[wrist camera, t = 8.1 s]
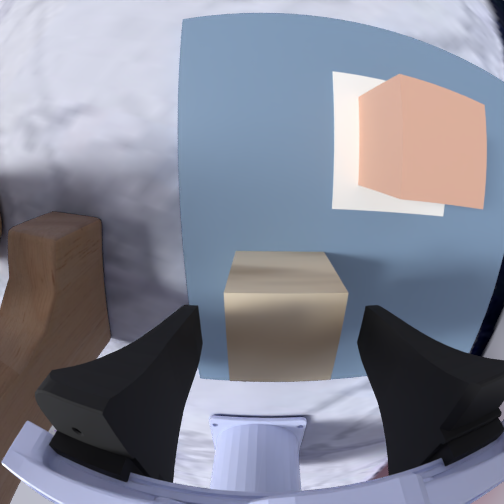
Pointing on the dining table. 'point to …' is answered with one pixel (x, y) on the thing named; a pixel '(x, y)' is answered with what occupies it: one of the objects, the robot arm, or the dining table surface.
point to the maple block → (283, 316)
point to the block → (0, 227)
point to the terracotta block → (422, 143)
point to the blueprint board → (324, 175)
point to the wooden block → (47, 316)
